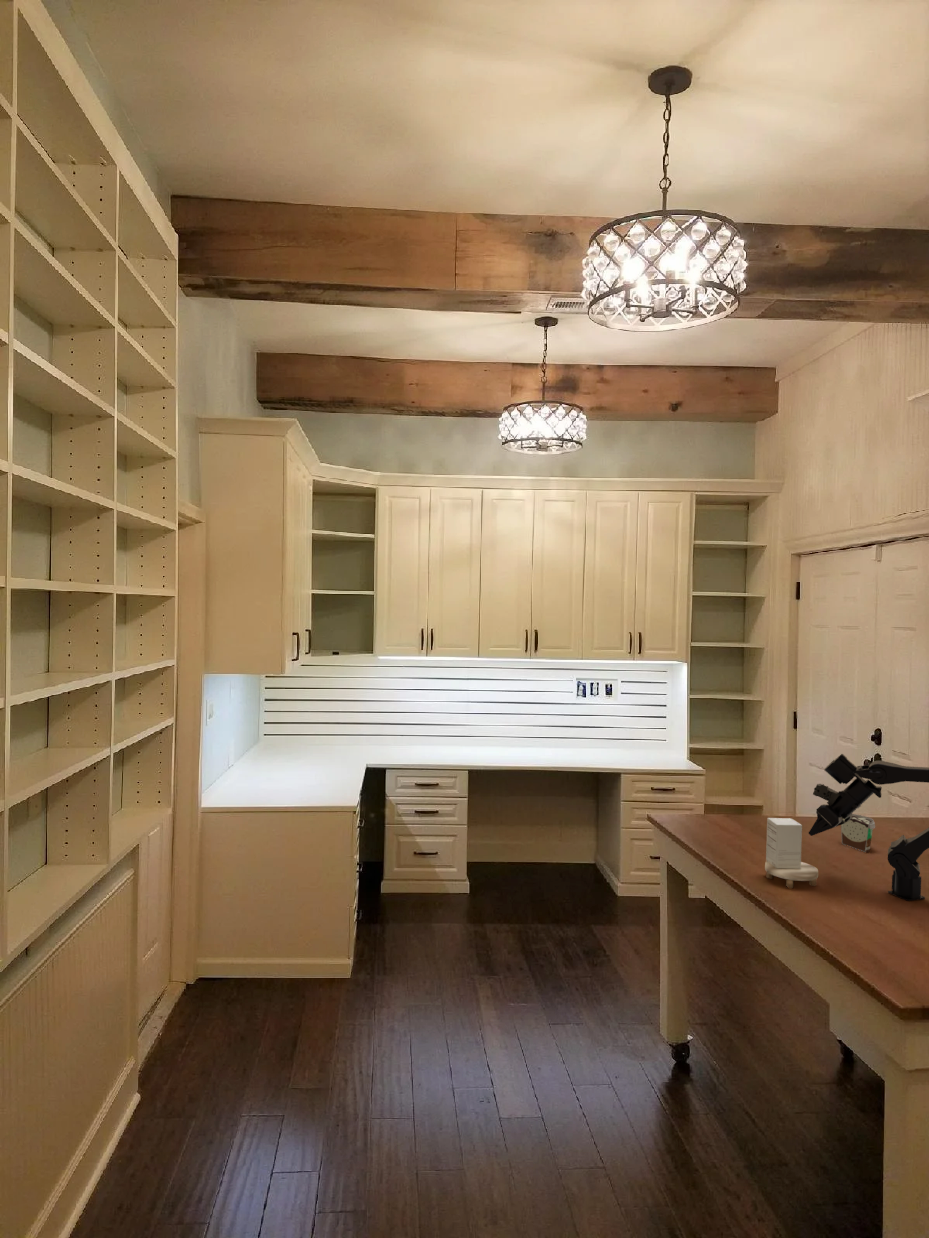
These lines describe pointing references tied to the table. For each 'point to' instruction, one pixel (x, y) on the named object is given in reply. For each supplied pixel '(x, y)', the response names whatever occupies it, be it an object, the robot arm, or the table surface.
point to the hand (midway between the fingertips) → (813, 832)
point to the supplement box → (784, 843)
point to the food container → (858, 832)
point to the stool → (793, 873)
